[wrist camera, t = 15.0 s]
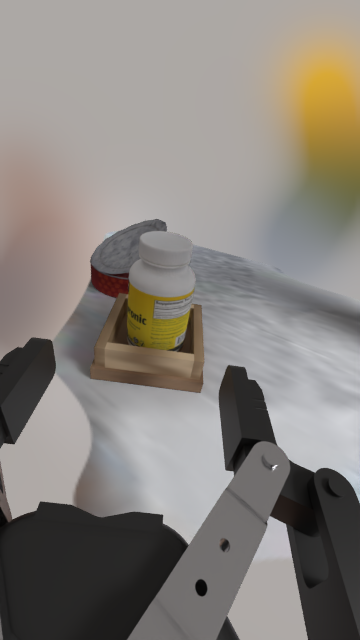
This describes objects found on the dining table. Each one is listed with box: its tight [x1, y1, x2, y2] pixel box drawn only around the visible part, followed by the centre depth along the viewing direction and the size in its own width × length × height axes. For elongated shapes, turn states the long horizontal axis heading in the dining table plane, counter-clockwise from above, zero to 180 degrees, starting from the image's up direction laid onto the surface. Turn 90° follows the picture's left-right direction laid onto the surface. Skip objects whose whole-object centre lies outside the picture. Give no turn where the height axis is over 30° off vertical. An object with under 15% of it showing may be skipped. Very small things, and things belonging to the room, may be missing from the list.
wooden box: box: [90, 293, 204, 393], centre depth 25 cm, size 9×9×3 cm
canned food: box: [90, 219, 167, 298], centre depth 35 cm, size 11×10×10 cm
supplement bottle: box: [127, 231, 196, 352], centre depth 23 cm, size 5×5×10 cm
